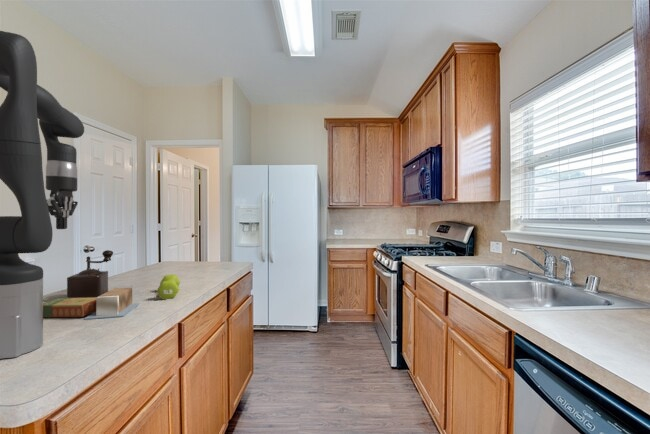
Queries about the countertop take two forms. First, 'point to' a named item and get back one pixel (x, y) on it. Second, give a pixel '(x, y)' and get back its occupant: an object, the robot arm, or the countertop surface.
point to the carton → (69, 307)
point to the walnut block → (113, 301)
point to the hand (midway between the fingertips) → (61, 229)
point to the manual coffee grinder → (89, 280)
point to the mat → (121, 314)
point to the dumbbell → (168, 287)
